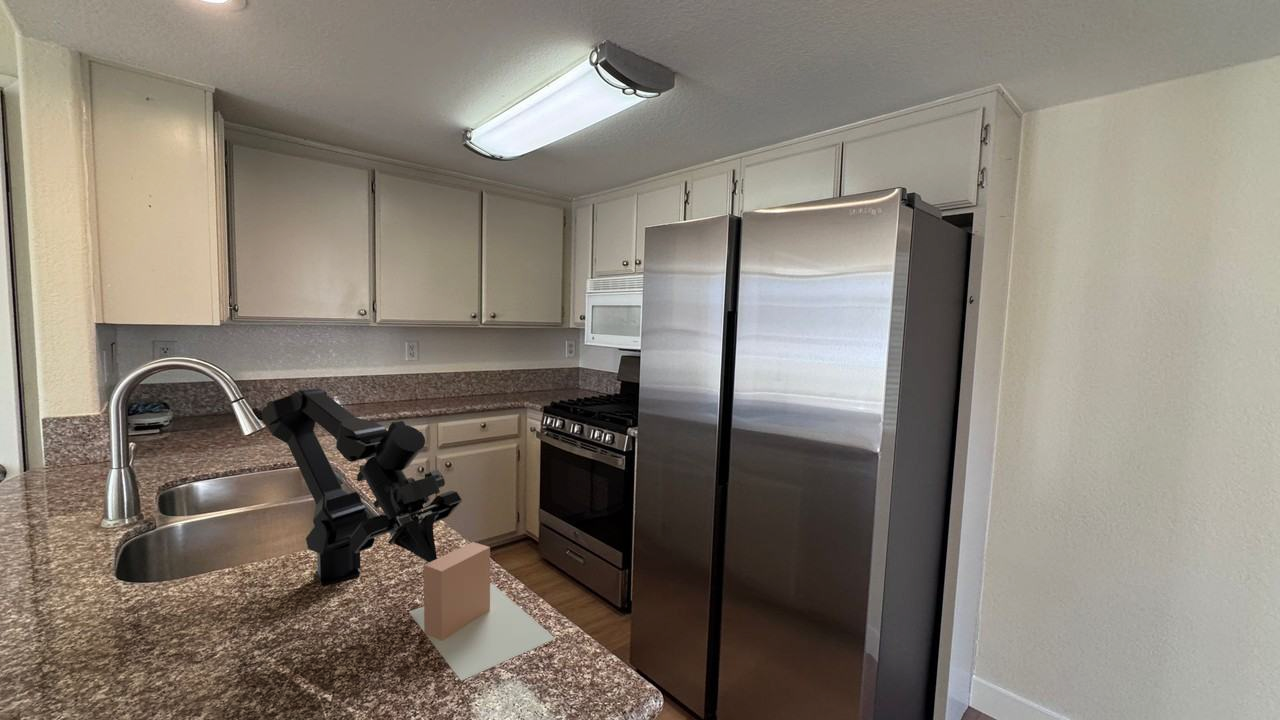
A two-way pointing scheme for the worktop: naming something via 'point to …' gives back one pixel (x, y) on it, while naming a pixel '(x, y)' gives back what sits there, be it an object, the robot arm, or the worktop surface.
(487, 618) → the rubber mat
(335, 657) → the worktop surface
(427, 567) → the terracotta slab
